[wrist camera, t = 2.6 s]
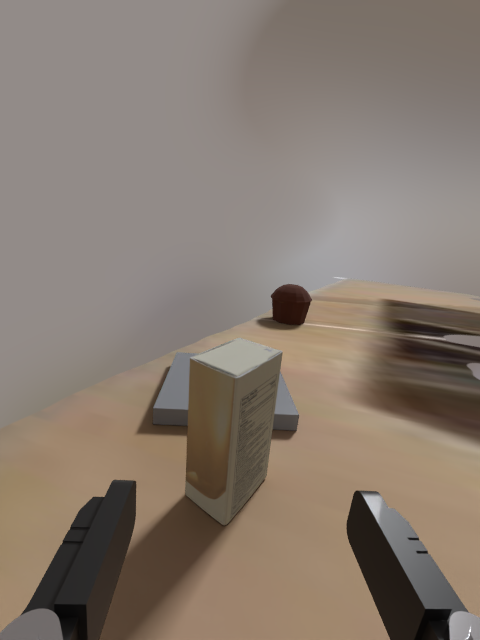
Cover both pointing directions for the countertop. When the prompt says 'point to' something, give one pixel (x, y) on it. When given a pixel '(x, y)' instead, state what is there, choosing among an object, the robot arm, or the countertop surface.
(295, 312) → the muffin
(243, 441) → the skincare box
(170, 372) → the plate
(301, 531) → the countertop surface
